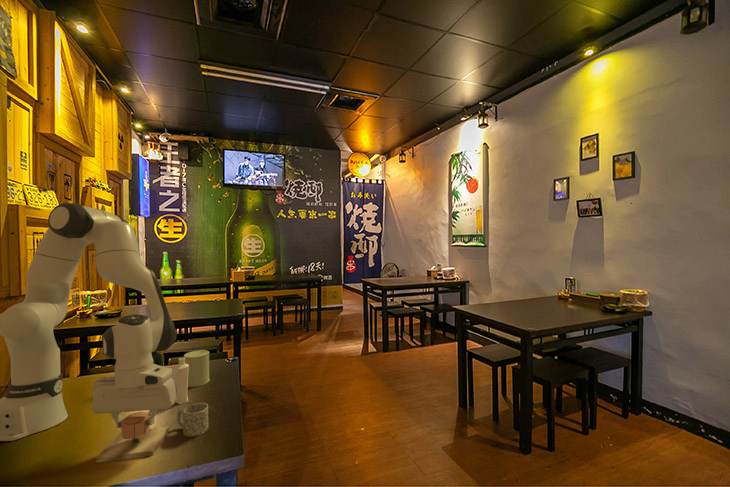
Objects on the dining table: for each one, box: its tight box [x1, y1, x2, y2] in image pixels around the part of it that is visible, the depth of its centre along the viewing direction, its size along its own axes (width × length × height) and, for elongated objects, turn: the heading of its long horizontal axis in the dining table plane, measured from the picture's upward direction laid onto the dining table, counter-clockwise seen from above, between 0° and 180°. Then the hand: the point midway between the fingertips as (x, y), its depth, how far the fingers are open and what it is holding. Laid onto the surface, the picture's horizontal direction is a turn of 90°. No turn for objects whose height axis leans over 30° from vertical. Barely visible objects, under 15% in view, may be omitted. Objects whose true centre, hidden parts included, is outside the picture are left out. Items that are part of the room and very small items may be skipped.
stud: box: [132, 437, 140, 443], centre depth 93 cm, size 2×2×3 cm
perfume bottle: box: [173, 357, 189, 405], centre depth 119 cm, size 5×4×15 cm
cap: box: [120, 411, 151, 439], centre depth 93 cm, size 6×6×4 cm
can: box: [183, 349, 211, 388], centre depth 136 cm, size 9×9×12 cm
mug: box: [176, 402, 209, 438], centre depth 100 cm, size 10×7×7 cm, turn 73°
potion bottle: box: [152, 351, 165, 367], centre depth 137 cm, size 8×8×18 cm
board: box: [95, 426, 171, 464], centre depth 93 cm, size 13×12×1 cm
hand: (135, 425), depth 93 cm, fingers closed on cap, 6 cm apart
